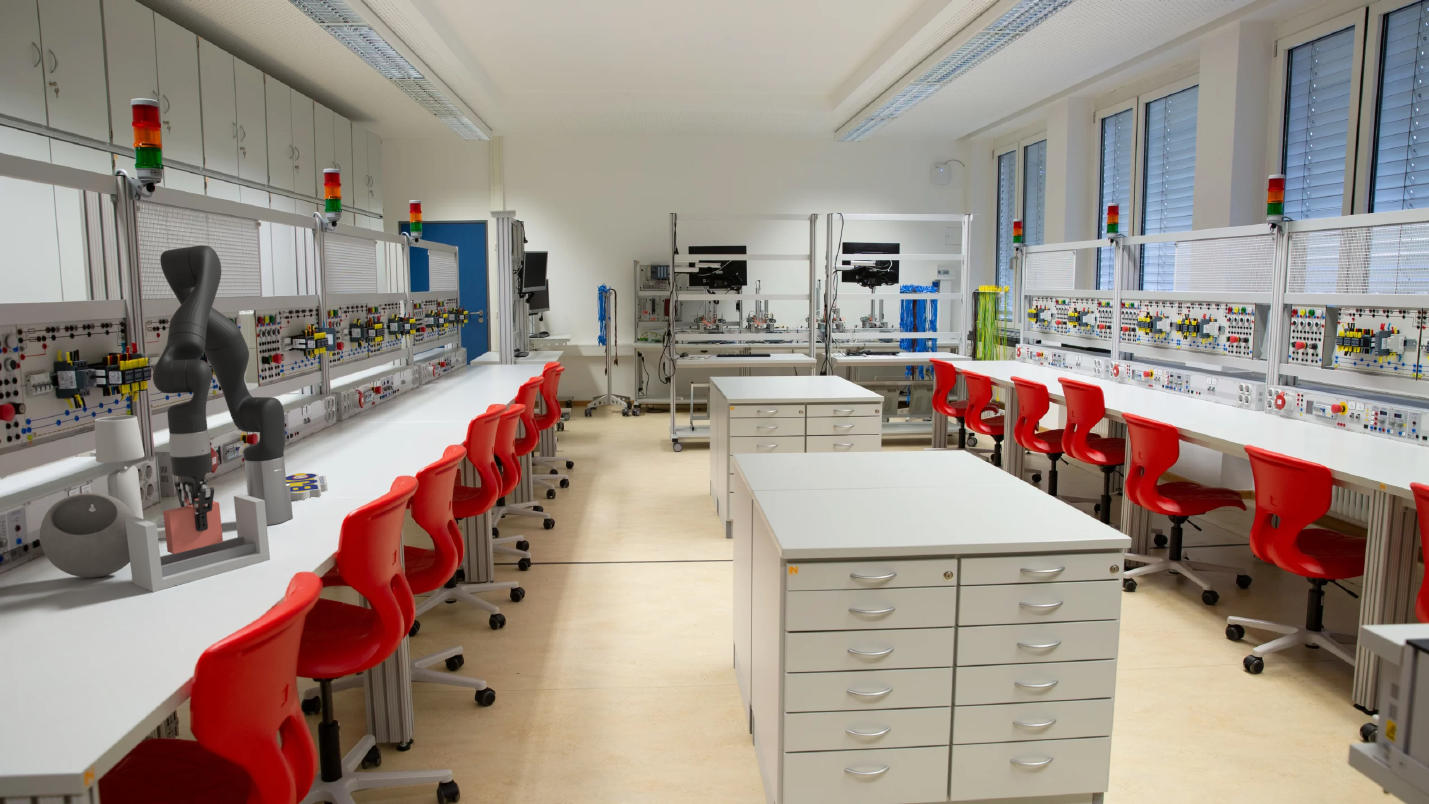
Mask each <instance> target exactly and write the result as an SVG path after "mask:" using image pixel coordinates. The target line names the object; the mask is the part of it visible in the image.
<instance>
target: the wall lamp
mask: <svg viewBox="0 0 1429 804" xmlns="http://www.w3.org/2000/svg"><path fill="white" fill-rule="evenodd" d="M138 421H139V420H138V417H137V415H133V414H132V415H131V414H130V415H127V414H126V415H114V416H113V415H112V416H103V417H99V418H95V419H94V440H95V441H94V442H95V443H94V444H95V461H96V463H101V464H105V463H106V464H111V463H112V464H113V463H117V465H118V468H117V469H114V470H113V471H111V472H109V473H108V474H107V477H106V486H107V495H109V496H112V497H114V498H116V499H118V500H120V501H122V502H123V503H124V504H125V505H127V506H128V507H129V508H130V509H131V511H132V512H133V513H134V515H135V516H136V517H138V518H141V519H144V512H143V502H142V495H141V486H140V478H139V477H140V476H139V471H138V467H137V466H136V465H132V466H130V467H128V466H126V465H125V462H129V461H134V460H135V461H136V460H139V459H142V458H144V457H145V451H144V446H143V442H142V436H141V431H140V426H139V422H138ZM154 523H155V524H157V533H158V540H159V539H160V540H163V539H165V540H166V533H165V524H164V517H160V518H157V519H156V520H155V522H154Z"/></svg>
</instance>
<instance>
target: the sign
mask: <svg viewBox="0 0 1429 804" xmlns="http://www.w3.org/2000/svg"><path fill="white" fill-rule="evenodd" d="M286 483H289V484H290V491H291V501H294V500H302V501H306V500H305V499H307V498H309V499H312V498H311V497H316V498H321V497H322V493H325V492H324V491H326V492H328V491H329V490H328V489H329V488H328V481H327V476H326V475H319V474H318V473H315V472H295V473H292V474H290V475H286ZM320 496H321V497H320ZM307 500H308V499H307Z"/></svg>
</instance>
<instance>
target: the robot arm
mask: <svg viewBox="0 0 1429 804" xmlns="http://www.w3.org/2000/svg"><path fill="white" fill-rule="evenodd" d="M159 260H160V262H159V263H160V266H161V270H162V273H163V276H164V278H165V279H166V282H167V283H168V285H169V287H170V289H171V290H172V292H173V294H174V295H175V297H176V299H177V300H178V302H179V304H180V306H178V308H177V310H176V311H175V312H174V314H173V315H172V317H171V319H170V322H169V325H168V333H167V341H166V345H165V348H164V349H163V352H162V353H161V356H160V357H159V358H158V361H157V362H156V364H155V366H154V369H153V371H152V382H153V384H154V386H155V388H156V390H158V391H159V392H160V393H163V394H187V393H192V397H191V399H190V400H188V401H186V402H180V403H177V404H173V405H170V407H168V409H167V424H168V434H169V436H168V437H169V439H168V446H169V456H170V467H171V468H170V469H171V474H172V475H173V476H174V477H178V478H179V477H180V478H179V479H180V481H176V482H174V488H175V491H176V495H177V497H178V501H179V505H180V507H185V506H190V505H193V510H194V514H195V515H194V516H195V526H196V531H204V530H207V529H208V522H207V513H208V512H209V511H212V505H213V501H214V496H215V488H214V487H209V485H208V481H207V478H206V475H207V474H209V473H211V472H212V471H213V470H214V469H213V460H212V459H213V458H212V451H211V450H212V447H211V439H210V435H209V430H208V422H207V420H208V419H207V402H208V396H209V391H210V387H211V383H212V378H213V373H214V375H215V376H216V380H217V381H218V384H219V386H220V389H221V391H222V395H223V397H224V400H225V403H226V405H227V409H228V412H229V415H230V417H231V419H232V421H233V423H234V425H235V427H236V428H237V429H238V430H240V431H241V432H243V433H244V432H245V433H259V440H258V441H257V443H255V444H252V445H249V446H247V447H246V448H244V450H243V459H244V471H245V480H246V481H245V482H246V489H247V491H246V492H247V496H251V497H255V498H258V499H262V500H265V511H266V522H267V526H271V525H277V524H281V523H282V524H283V523H285V522H287V521H288V520H290V519H291V520H292V519H294V516H293V504H292V500H291V491H290V484H289V483H286V476H287V475H286V465H285V447H286V429H285V428H286V427H285V424H286V422H285V410H284V407H283V405H282V402H281V401H280V400H279V398H276V397H268V396H261V397H260V396H252V395H251V393H250V391H249V389H248V387H247V384H246V381H245V377H246V371H247V368H248V365H249V359H250V350H249V347H248V345H247V342H246V340H245V338H244V335H243V333H242V331H241V329H240V328H239V326H238V325H237V324H236V323H235V322H234V321H232V320H231V319H230V318H229V317H227V316H226V315H224V314H223V313H221V312H220V311H218V310H217V309H215V308H214V307H213V304H214V302H215V299H216V295H217V292H218V290H219V285H220V282H221V278H222V265H221V260H220V257H219V256H218V254H217V252H216V251H215V249H214V248H212V246H209V245H201V244H200V245H193V246H186V247H181V248H175V249H174V248H173V249H168V250H165V251H163V252H162V253H161V254H160V258H159ZM204 354H205V357H206V359H207V361H208V362H209V364H208V362H206V361H205V360H204V359H199V358H201V357H202V356H203V355H204ZM210 366H211V367H210Z"/></svg>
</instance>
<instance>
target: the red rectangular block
mask: <svg viewBox="0 0 1429 804" xmlns="http://www.w3.org/2000/svg"><path fill="white" fill-rule="evenodd" d="M162 514H163V518H164V524H165V533H166V539H165V540H166V551H167V552H168V553H170V554H176V553H180V552H184V551H188V550H192V549H196V548H200V547H204V546H208V545H212V544H216V543H220V542H223V541H224V540H223V539H224V537H223V528H222V519H221V518H222V516H221V507H220V502H218V501H215V500H213V505H212V511H209V512H208V513H207V522H208V529H207V530H204V531H196V526H195V516H194V515H195V514H194V510H193V505H190V506H185V507H181V506H180V507H175V508H171V509H167V510H166V509H165V510H163V511H162Z"/></svg>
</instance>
